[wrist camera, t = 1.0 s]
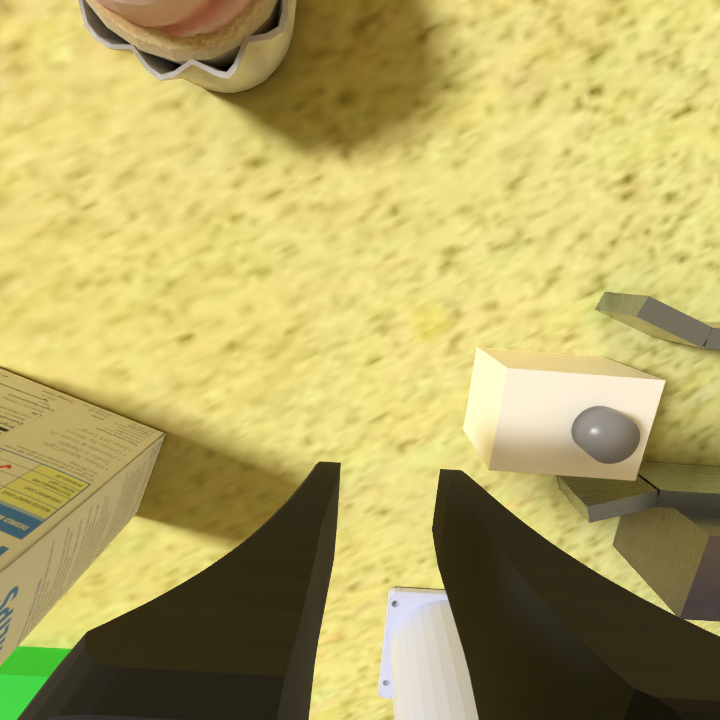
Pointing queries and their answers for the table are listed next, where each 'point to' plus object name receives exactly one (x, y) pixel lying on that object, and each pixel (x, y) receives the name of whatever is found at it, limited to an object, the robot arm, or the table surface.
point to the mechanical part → (25, 677)
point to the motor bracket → (662, 489)
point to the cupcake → (197, 37)
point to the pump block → (560, 413)
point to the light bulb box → (60, 494)
